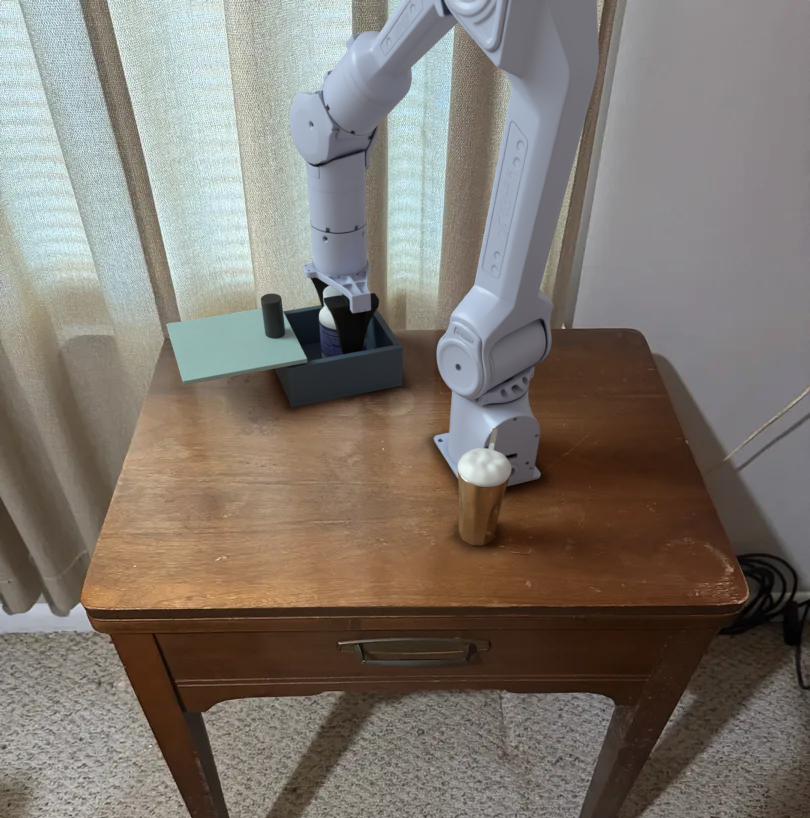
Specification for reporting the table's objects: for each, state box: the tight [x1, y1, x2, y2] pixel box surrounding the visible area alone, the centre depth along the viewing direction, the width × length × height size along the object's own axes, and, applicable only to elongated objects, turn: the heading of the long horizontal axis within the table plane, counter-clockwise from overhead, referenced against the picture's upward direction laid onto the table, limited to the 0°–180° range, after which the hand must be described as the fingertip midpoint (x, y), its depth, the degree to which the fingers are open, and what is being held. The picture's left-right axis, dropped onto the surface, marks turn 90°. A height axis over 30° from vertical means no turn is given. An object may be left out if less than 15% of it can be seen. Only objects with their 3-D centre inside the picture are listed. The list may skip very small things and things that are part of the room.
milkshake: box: [457, 428, 511, 547], centre depth 67 cm, size 4×5×10 cm
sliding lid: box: [165, 293, 307, 386], centre depth 81 cm, size 12×13×5 cm
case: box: [274, 304, 404, 408], centre depth 87 cm, size 12×13×5 cm
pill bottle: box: [319, 286, 367, 358], centre depth 86 cm, size 5×5×9 cm
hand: (344, 339), depth 87 cm, fingers closed on pill bottle, 5 cm apart
